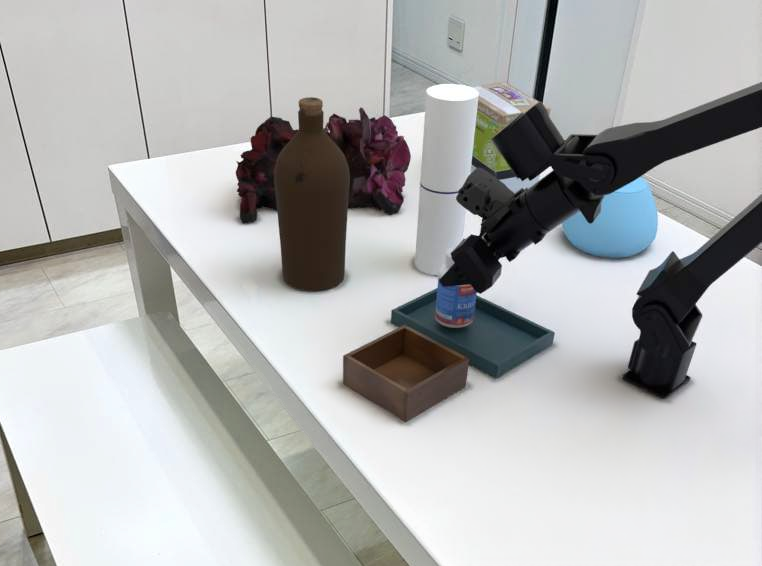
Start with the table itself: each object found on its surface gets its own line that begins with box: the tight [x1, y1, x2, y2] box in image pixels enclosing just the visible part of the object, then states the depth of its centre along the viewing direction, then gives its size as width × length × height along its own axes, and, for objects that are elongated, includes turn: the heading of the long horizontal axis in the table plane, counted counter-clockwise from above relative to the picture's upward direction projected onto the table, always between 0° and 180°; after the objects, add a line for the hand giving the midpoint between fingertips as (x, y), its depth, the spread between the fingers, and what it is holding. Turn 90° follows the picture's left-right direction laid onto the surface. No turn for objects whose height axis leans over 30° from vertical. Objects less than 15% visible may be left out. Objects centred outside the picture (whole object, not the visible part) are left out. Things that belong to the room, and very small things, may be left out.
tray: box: [390, 287, 556, 379], centre depth 119 cm, size 19×12×2 cm, turn 44°
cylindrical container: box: [414, 83, 479, 276], centre depth 126 cm, size 7×7×25 cm
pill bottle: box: [435, 247, 478, 328], centre depth 117 cm, size 6×5×10 cm
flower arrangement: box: [235, 107, 412, 224], centre depth 146 cm, size 31×20×15 cm, turn 107°
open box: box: [342, 325, 470, 423], centre depth 109 cm, size 11×11×4 cm
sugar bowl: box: [561, 176, 659, 259], centre depth 138 cm, size 15×15×12 cm
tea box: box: [470, 81, 552, 193], centre depth 154 cm, size 15×10×15 cm, turn 25°
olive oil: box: [274, 96, 350, 292], centre depth 122 cm, size 11×11×25 cm
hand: (449, 274), depth 116 cm, fingers closed on pill bottle, 5 cm apart
